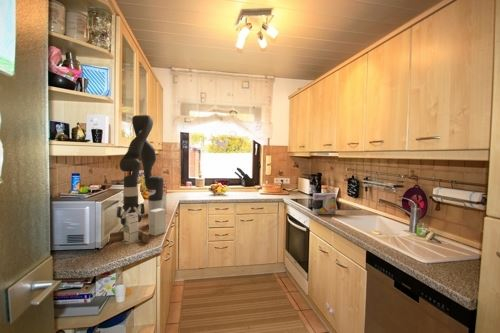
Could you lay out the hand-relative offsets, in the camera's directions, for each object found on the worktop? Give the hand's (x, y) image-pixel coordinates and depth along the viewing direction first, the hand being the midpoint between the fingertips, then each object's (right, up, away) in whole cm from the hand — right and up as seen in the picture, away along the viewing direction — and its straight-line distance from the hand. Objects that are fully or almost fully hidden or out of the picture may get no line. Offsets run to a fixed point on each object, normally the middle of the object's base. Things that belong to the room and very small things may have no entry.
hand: (131, 223), depth 147 cm
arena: (0, -10, -3) cm, 10 cm away
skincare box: (+10, -10, +14) cm, 20 cm away
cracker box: (-8, -7, +65) cm, 66 cm away
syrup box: (0, -10, 0) cm, 10 cm away
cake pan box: (+128, -8, +72) cm, 147 cm away
